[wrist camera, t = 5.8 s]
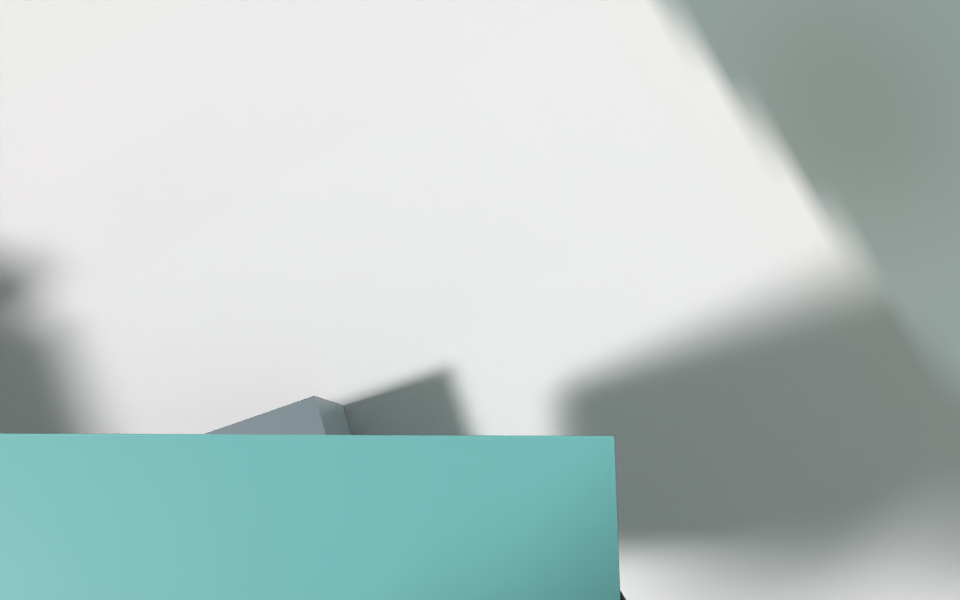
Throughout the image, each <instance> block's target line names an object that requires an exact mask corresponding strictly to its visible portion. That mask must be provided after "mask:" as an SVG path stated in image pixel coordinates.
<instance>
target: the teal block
mask: <svg viewBox="0 0 960 600" xmlns="http://www.w3.org/2000/svg"><path fill="white" fill-rule="evenodd" d="M0 600H620V578H619V551H618V524H617V497H616V470H615V443H614V436H477V435H241V434H5V433H0Z"/></svg>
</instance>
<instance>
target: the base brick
mask: <svg viewBox="0 0 960 600" xmlns="http://www.w3.org/2000/svg"><path fill="white" fill-rule="evenodd" d="M206 434H241V435H352V433H351V430H350V427H349V423H348V420H347V417H346V413H345V410H344V407H343V405H340V404H337V403H334V402H331V401H328V400H325V399H322V398H319V397H316V396H312V397H310V398H307V399H304V400H301V401H298V402H295V403H292V404H289V405H287V406H284V407H281V408H278V409H275V410H272V411H269V412H266V413H264V414H261V415H258V416H255V417H252V418H249V419H246V420H243V421H241V422H238V423H235V424H232V425H229V426H226V427H223V428H220V429H218V430H215V431H212V432H209V433H206Z"/></svg>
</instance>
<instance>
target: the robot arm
mask: <svg viewBox="0 0 960 600" xmlns="http://www.w3.org/2000/svg"><path fill="white" fill-rule="evenodd" d="M620 600H626V599H625V597H624V596H623V594H622V592H621V591H620Z"/></svg>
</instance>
